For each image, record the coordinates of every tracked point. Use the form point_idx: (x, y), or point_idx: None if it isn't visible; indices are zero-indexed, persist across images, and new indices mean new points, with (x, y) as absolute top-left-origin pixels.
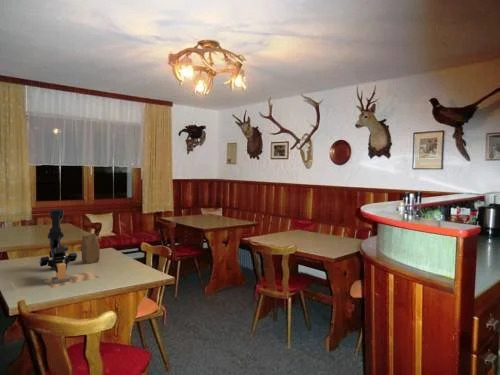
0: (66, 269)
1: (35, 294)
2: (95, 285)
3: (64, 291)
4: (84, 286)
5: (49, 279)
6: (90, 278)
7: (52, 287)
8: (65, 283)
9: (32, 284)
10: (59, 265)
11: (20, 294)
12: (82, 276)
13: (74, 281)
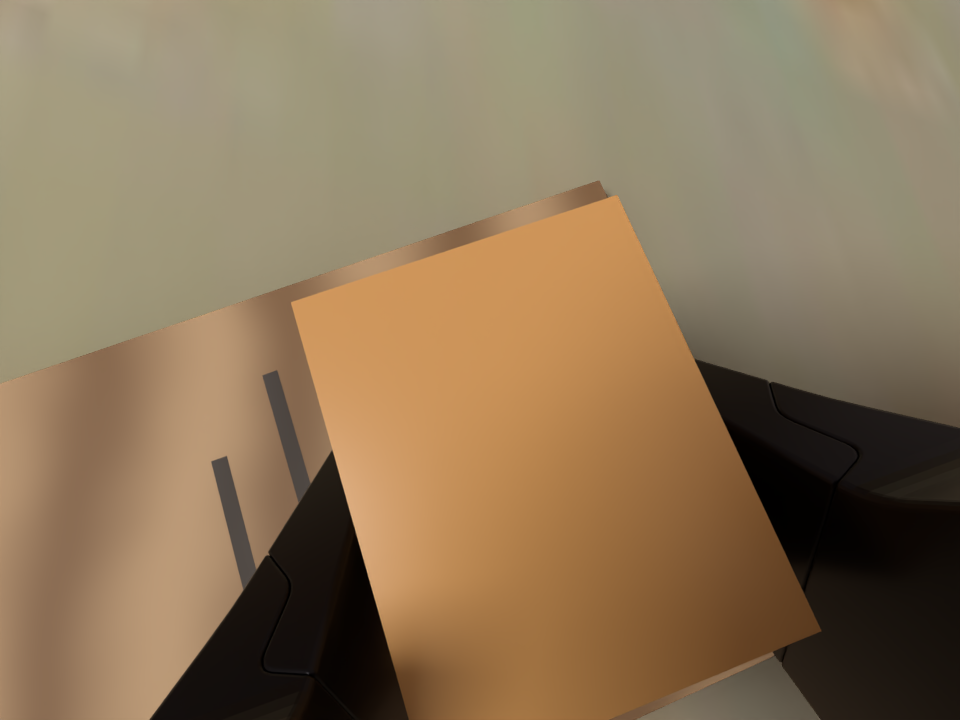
0: None
1: (752, 86)
2: (25, 155)
3: (423, 69)
4: (170, 167)
5: (722, 675)
6: (6, 440)
7: (588, 186)
8: None
9: None
10: (567, 212)
11: (939, 148)
12: (118, 643)
13: (281, 363)
